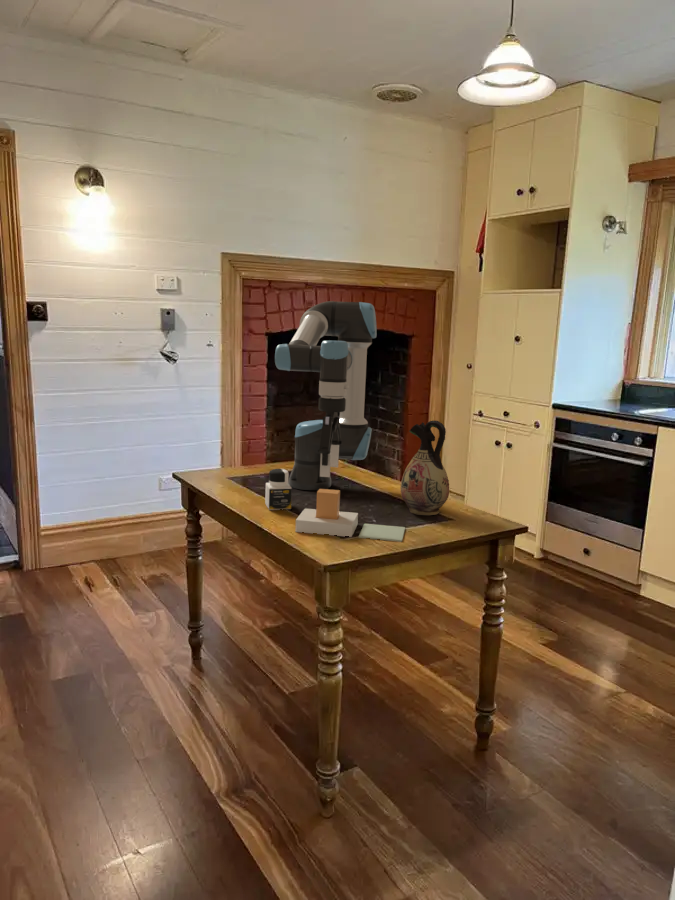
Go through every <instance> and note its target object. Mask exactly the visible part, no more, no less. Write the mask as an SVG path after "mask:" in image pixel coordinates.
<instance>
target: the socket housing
mask: <svg viewBox="0 0 675 900" xmlns="http://www.w3.org/2000/svg"><path fill="white" fill-rule="evenodd" d="M358 519H359V513H358V512H351V511H350V512H349V511H340V510H339V518H338V520H335V519H324V518H316V509H315V508H307V507H305V508H304V509H303V510H302V511H301V513H300V514H299V515H298V517H297V518H296V519H295V533H302V532H304V533H305V534H313V533H317V534H316V535H324V534H329V535H328V536H334V535H337V536H336V537H345V536H349V537H348V538H352V537H353V535H354V533H355V530H356V529H357V526H358V525H359V524H358V521H359V520H358Z"/></svg>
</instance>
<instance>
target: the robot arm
mask: <svg viewBox="0 0 675 900" xmlns="http://www.w3.org/2000/svg"><path fill="white" fill-rule="evenodd" d="M377 327H378V326H377V317H376V310H375V306H374V305H373V304H372V303H371V302H370V303H369V302H362V301H333V300H329V301H328V300H327V301H324V302H323V301H322V302H320V303H318V304H315V305H313V306H311V307H309V308H308V309H307V310H306V311H305V312H304V313H303V315H302V316H301V317H300V320H299V327H298V328H297V330H296V332H295V333H294V335H293V337H292V338H291V340H290V342H289V343H282V344H278V345H277V346H276V347H275V353H274V363H275V366H276V368H277V369H278V370H280V371H287V372H290V371H291V372H292V371H293V372H314V373H315V372H316V373H319V381H318V383H319V384H318V395H319V398H318V410H319V411H320V412H325V416H323V417H322V419H315V420H308V421H307V420H306V421H302V422H299V423H298V424H297V425H296V427H295V435H294V461H293V462H294V463H293V467H292V469H291V472H290V475H289V477H288V484H289V485H290V486H291V488H292V489H297V490H303V491H304V490H305V491H318V490H319V489H329V488H331V486H332V478H331V468H339V460H351V461H361V460H362V461H363V460H365V459H366V458H367V455H368V451H369V447H370V444H371V438H372V432H373V431H372V429H373V428H371V427H370V426H368V425H369V422H368V420H367V419H366V418H365V399H366V379H367V355H368V349H369V347H370V346H371V345H372V344H373V339H376V338H377V335H378V334H377V330H378V329H377ZM325 336H327V337H329V336H331V337H337V340H330V339H329V340H322V342H321V344H320V345H318V343H319V341H320V339H321V338H323V337H325Z"/></svg>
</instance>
